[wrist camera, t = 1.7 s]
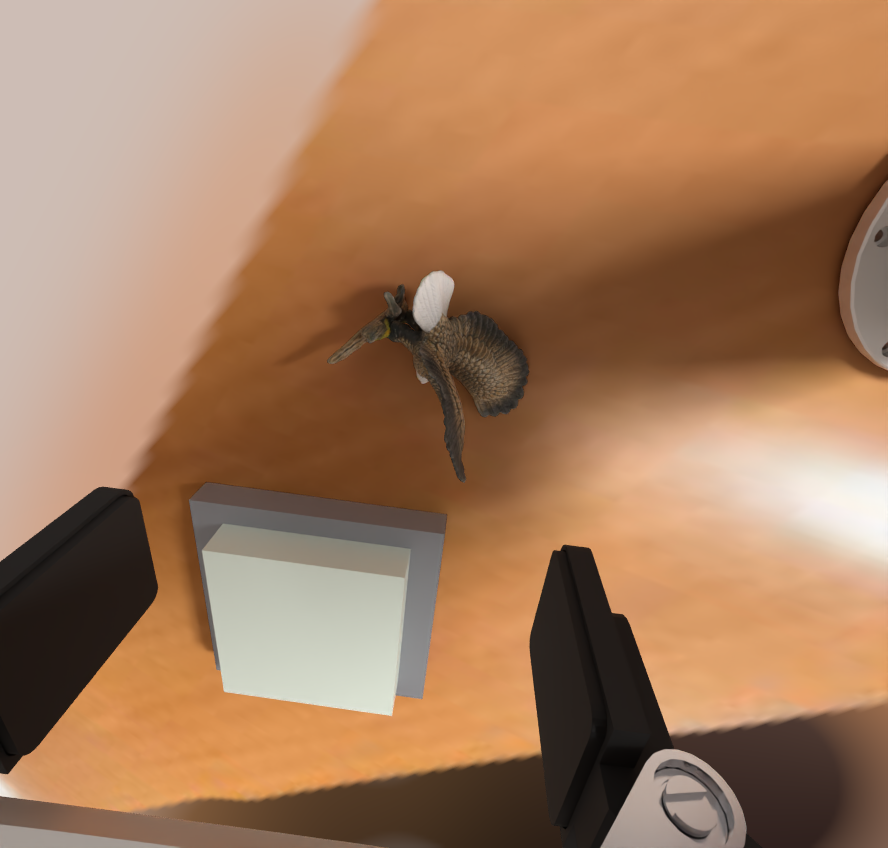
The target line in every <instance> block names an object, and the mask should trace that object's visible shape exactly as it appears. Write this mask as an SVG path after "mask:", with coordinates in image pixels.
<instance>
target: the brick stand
mask: <svg viewBox="0 0 888 848" xmlns="http://www.w3.org/2000/svg"><path fill="white" fill-rule="evenodd" d="M189 504H190V510H191V516H192V522H193V528H194V534H195V540H196V546H197V552H198V559H199V565H200V571H201V577H202V583H203V589H204V595H205V601H206V607H207V614H208V620H209V626H210V632H211V638H212V644H213V650H214V656H215V663H216V669H217V670H221V675H222V681H223V687H224V692H229V693H236V694H243V695H250V696H257V697H264V698H271V699H278V700H285V701H292V702H299V703H306V704H313V705H320V706H327V707H334V708H341V709H348V710H355V711H362V712H369V713H376V714H383V715H390V716H392V712H393V706H394V701H395V695H398V696H405V697H412V698H419V699H422V698H423V690H424V683H425V676H426V669H427V661H428V654H429V647H430V639H431V632H432V625H433V617H434V610H435V603H436V595H437V588H438V581H439V573H440V566H441V559H442V552H443V544H444V537H445V529H446V520H447V514H440V513H432V512H425V511H418V510H410V509H403V508H395V507H388V506H380V505H373V504H366V503H358V502H351V501H343V500H336V499H328V498H321V497H314V496H306V495H299V494H291V493H284V492H276V491H269V490H262V489H254V488H247V487H239V486H232V485H224V484H217V483H210V482H206V483H205V484H204V485H203V486H202V487H201V488H200V489H199V490H198V491H197V492H196V493H195V494H194V495H193V496H192V497H191V498H190V499H189Z"/></svg>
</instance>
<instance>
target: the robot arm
mask: <svg viewBox="0 0 888 848" xmlns="http://www.w3.org/2000/svg"><path fill="white" fill-rule="evenodd" d="M838 294H839V304H840V314H841V318H842V321H843V323H844V326H845V329H846V332H847V335H848V336H849V338H850V339H851V341H852V342H853V343H854V345H855V346H856V348H857V349H858V350H859V352H860V353H861V354H863V355H864V356H865V357H866V358H868V359H869V360H870V361H871V362H872V363H874V364H875V365H877V366H879V367H881V368H883V369H885V370H887V371H888V180H887V181H886V182H885V183H884V184H883V186H882V187H881V189H880V190H879V192H878V193H877V194H876V196H875V197H874V199H873V200H872V202H871V203H870V204H869V206H868V207H867V209H866V210H865V211H864V213H863V215H862V217H861V219H860V221H859V223H858V225H857V227H856V229H855V231H854V233H853V235H852V237H851V239H850V242H849V245H848V248H847V251H846V254H845V257H844V261H843V264H842V267H841V275H840V283H839V291H838ZM157 590H158V584H157V580H156V575H155V571H154V566H153V561H152V557H151V552H150V547H149V543H148V538H147V534H146V529H145V524H144V520H143V515H142V511H141V506H140V502H139V500H138V499H137V498H135V497H134V496H133V493H132V492H131V491H129V490H125V489H117V488H108V487H99V488H97V489H95V490H93V491H92V492H91V493H90V494H88V495H87V496H86V497H84V498H83V499H82V500H80V501H79V502H78V503H77V504H75V505H74V506H73V507H71V508H70V509H69V510H68V511H66V512H65V513H63V514H62V515H61V516H60V517H58V518H57V519H56V520H54V521H53V522H52V523H50V524H49V525H48V526H46V527H45V528H44V529H42V530H41V531H40V532H39V533H37V534H36V535H35V536H33V537H32V538H31V539H29V540H28V541H27V542H25V544H23V545H22V546H20V547H19V548H18V549H16V550H15V551H14V552H13V553H11V554H10V555H8V556H7V557H6V558H5V559H3V560H2V561H1V562H0V773H2V774H8V773H9V772H10V771H11V770H12V769H13V767H14V766H15V765H16V764H17V762H18V761H19V760H20V759H21V757H22V756H23V755H27V754H29V753H31V752H32V751H33V750H35V748H36V747H37V746H38V745H39V744H40V743H41V742H42V740H43V739H44V738H45V737H46V735H47V734H48V733H49V732H50V730H51V729H52V728H53V727H54V725H55V724H56V723H57V722H58V720H59V719H60V718H61V717H62V715H63V714H64V713H65V712H66V710H67V709H68V708H69V707H70V705H71V704H72V703H73V702H74V700H75V699H76V698H77V697H78V695H79V694H80V693H81V692H82V690H83V689H84V688H85V687H86V685H87V684H88V683H89V682H90V680H91V679H92V678H93V676H94V675H95V674H96V673H97V671H98V670H99V669H100V668H101V666H102V665H103V664H104V663H105V661H106V660H107V659H108V658H109V656H110V655H111V654H112V653H113V651H114V650H115V649H116V648H117V646H118V645H119V644H120V643H121V641H122V640H123V639H124V638H125V636H126V635H127V634H128V633H129V631H130V630H131V629H132V628H133V626H134V625H135V624H136V623H137V621H138V620H139V619H140V618H141V616H142V615H143V614H144V613H145V611H146V610H147V609H148V608H149V606H150V605H151V604H152V603H153V601H154V599H155V597H156V594H157ZM530 657H531V665H532V674H533V683H534V691H535V700H536V708H537V717H538V725H539V734H540V742H541V751H542V760H543V768H544V777H545V785H546V793H547V802H548V811H549V817H550V821H551V824H552V825H554V826H560V831H561V839H562V846H563V848H762V847H761V846H760V845H759V844H757V843H756V842H755V841H754V840H753V839H752V838H751V837H750V836H749V835H747V834H746V824H745V819H744V815H743V811H742V809H741V807H740V805H739V803H738V801H737V799H736V797H735V795H734V793H733V791H732V790H731V789H730V788H729V786H728V785H727V784H726V782H725V781H724V779H723V778H722V777H721V776H720V775H719V774H718V773H717V772H716V771H715V770H713V769H712V768H711V767H710V766H709V765H708V764H707V763H705V762H703V761H702V760H700V759H699V758H697V757H695V756H694V755H692V754H689V753H686V752H683V751H680V750H674V747H673V745H672V742H671V739H670V736H669V733H668V730H667V728H666V725H665V722H664V719H663V716H662V714H661V711H660V708H659V705H658V703H657V700H656V697H655V694H654V691H653V689H652V686H651V683H650V680H649V677H648V675H647V672H646V669H645V666H644V663H643V661H642V658H641V655H640V652H639V649H638V647H637V644H636V641H635V638H634V635H633V633H632V630H631V627H630V624H629V622H628V620H627V618H626V617H625V616H624V615H623V614H615V613H611V609H610V606H609V603H608V600H607V597H606V594H605V591H604V588H603V585H602V582H601V579H600V576H599V572H598V569H597V566H596V563H595V560H594V557H593V554H592V551H591V549H589V548H586V547H578V546H570V545H563V546H562V548H561V551H556V550H554V551H553V553H552V556H551V559H550V563H549V567H548V571H547V574H546V578H545V582H544V586H543V589H542V593H541V597H540V601H539V604H538V608H537V612H536V616H535V619H534V623H533V627H532V631H531V635H530ZM0 848H385V847H378V846H370V845H363V844H356V843H349V842H342V841H334V840H327V839H320V838H313V837H305V836H298V835H291V834H284V833H276V832H269V831H262V830H254V829H247V828H239V827H231V826H224V825H217V824H209V823H202V822H194V821H187V820H179V819H172V818H163V817H156V816H149V815H142V814H134V813H126V812H119V811H111V810H104V809H96V808H88V807H80V806H72V805H64V804H56V803H49V802H41V801H33V800H25V799H17V798H9V797H1V796H0Z"/></svg>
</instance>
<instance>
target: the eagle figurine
mask: <svg viewBox="0 0 888 848" xmlns="http://www.w3.org/2000/svg"><path fill="white" fill-rule="evenodd" d="M453 290H454V282H453V279H452V278H451V277H449V276H448V275H446V274H445V273H444V272H443V271H442V270H439V271H433V272H431V273H430V274H429V275H427V276H425V277H424V278H423V279H422V281H421V283H420V286H419V287H418V289H417V292H416V295H415V297H414V301H413V311H411V310H408V305H407V303H406V301H405V296H404V294H405V287H404V285H403V284H401V285H400V286H398V288H397V295H396V296H395V297H394V298H393V296H392V294H391V293H390V292H385V293H384V298H385V300H386V301H387V304H388V308H387V310H385V311H384V312H382V313H381V314H380V315H379V316H378V317H376V318H375V319H374V320H373V321H371V322H370V323H368V324H367V325H366V326H364V327H363V328H362V329H361V330H359V331H358V332H357V333H356V334H355V335H354V336H353V337H352V338H351V339H350V340H349V341H348V342H347V343H346V344H345V345H344V346H342V347H341V348H340V349H339V350H337V351H336V352H335V353H334V354H333V355H332V356H331V357H330V358H329V359H328V360H327V363H329V364H334V363H337V362H339V361H341V360H343V359H345V358H346V357H348V356H349V355H350V354H352V352H354V351H355V350H357V349H359V348H360V347H361V346H362V345H363V344H364V343H366V342H368V343H372V342H374V341H376V340H381V339H383V338H389V339H390V340H391V341H393V342H400V343H402V344H403V345H404V346H405V347H407V348H408V349H409V351H410V352H411V353H412V354H413V356H414V357H413V364H414V367H415V369H416V372H417V376H416V377H417V379H419V380H420V382H421V384H424V383H427V382H428V381H429V382H430V384H431V385H432V387H433V388H434V390H435V392H436V394H437V396H438V398H439V400H440V402H441V406H442V409H443V414H444V416H445V418H444V425H445V427H446V430H445V435H444V440H445V442H446V448H447V450H448V451H449V452H450V457H451V460H452V463H453V466H454V469H455V471H456V475H457V477H458V478H459V480H460V481H462V482H465V481H466V477H465V474H464V466H463V464H462V461H461V455H462V450H463V445H464V433H465V419H464V414H463V409H462V403H461V401H460V396H459V394H458V391H457V389H456V385H455V384H454V380H453V378H452V376H451V375H453V376H454V377H455V378H457V379H458V380H459V381H460V382H461V383H462V384H463V385H464V386H465V388H466V389H467V390H468V391H469V393H470V394H471V395H472V396H473V399H474V402H475V405H476V406H477V409H478V412H479V413H480V414H481V416H482V417H487V416H488V415H492V416H495V417H496V416H497V415H498V414H499V413H500V412H501V413H503V414H508V413H509V412H510V409H515V408H516V407H517V406H518V399H521V398H523V395H524V391H523V388H522V386H524V385H526V384H527V379H526V376H528V374H529V370H528V364H527V363H526V361H527V358H526V357H525V356H524V355H523V351H522V350H521V349H518V347H517V345H516V344H515V343H514V342H513V341H511V340H509V338H508V336H506V335H505V334H504V332H503V331H502V330H499V329H498V325H497V324H496V323H495V322H494V321H493V319H492V318H489V317H488V316H486V315H482V314H480V313H479V312H478V311H475V312H472V311H469V312H468V313H467V315H460V316H459V317H458V318H456V317H454V316H453V317H450V318H449V319H448V318H447V311H448V307H449V302H450V299H451V296H452V293H453ZM404 323H407V324H409V325H410V326H409V325H407V324H404ZM411 327H412V328H413V329H414V330H413V329H411Z"/></svg>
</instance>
